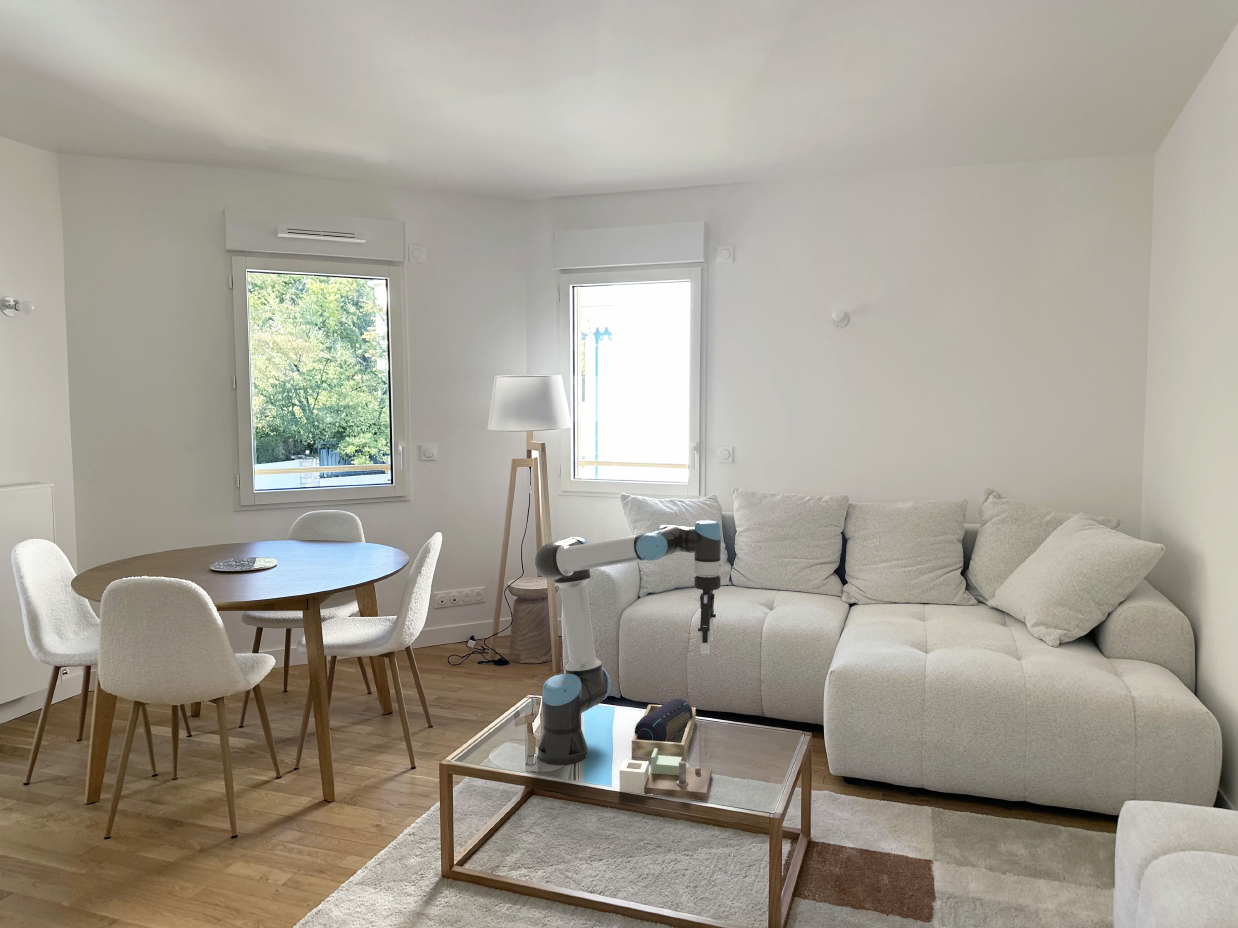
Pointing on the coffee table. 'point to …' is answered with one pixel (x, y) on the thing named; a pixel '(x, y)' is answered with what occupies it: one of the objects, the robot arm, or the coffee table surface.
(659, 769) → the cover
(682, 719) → the portable speaker
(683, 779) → the base plate
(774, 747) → the coffee table surface
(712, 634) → the robot arm
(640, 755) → the open wooden box
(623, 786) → the sleeve
